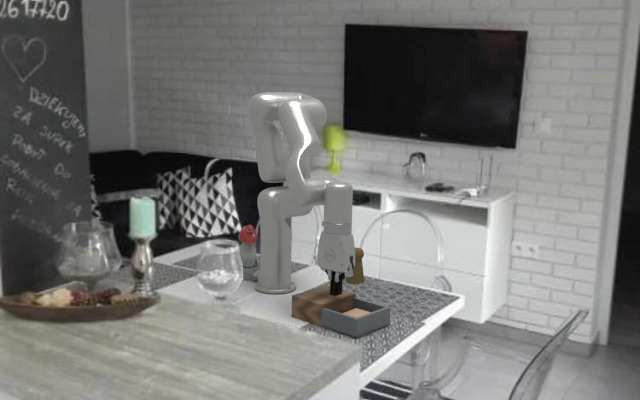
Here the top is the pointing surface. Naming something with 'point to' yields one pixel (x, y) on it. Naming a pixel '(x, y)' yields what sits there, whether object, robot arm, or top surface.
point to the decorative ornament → (248, 246)
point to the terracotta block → (356, 312)
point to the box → (357, 319)
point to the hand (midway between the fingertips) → (335, 294)
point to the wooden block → (320, 304)
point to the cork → (357, 268)
